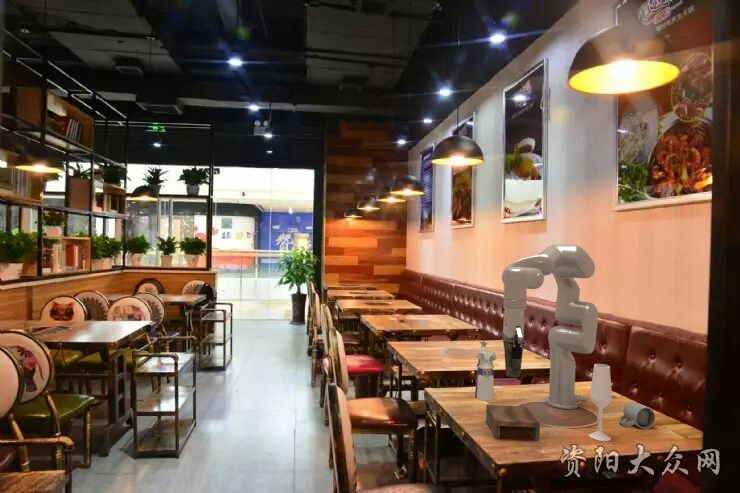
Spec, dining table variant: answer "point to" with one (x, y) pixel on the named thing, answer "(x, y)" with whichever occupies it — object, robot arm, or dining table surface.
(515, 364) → the beverage cup
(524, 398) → the dining table surface
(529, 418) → the walnut shelf
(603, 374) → the champagne flute
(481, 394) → the water bottle
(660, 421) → the dining table surface
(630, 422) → the ceramic mug
